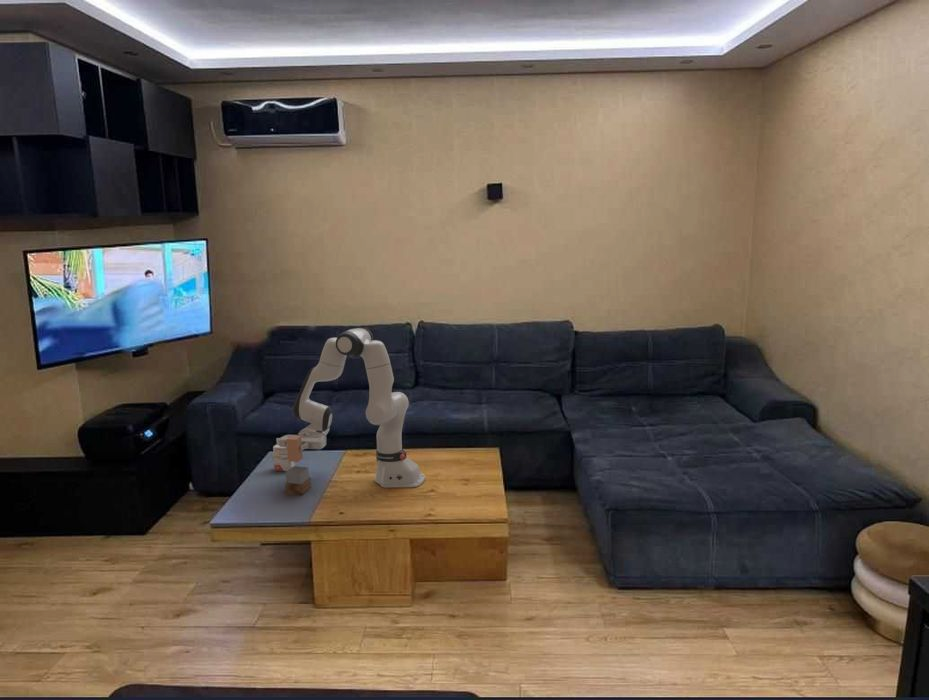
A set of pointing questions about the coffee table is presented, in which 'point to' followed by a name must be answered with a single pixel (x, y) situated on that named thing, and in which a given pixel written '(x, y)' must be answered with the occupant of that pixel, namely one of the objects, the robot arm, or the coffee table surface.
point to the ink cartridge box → (281, 458)
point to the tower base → (298, 487)
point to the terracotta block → (294, 448)
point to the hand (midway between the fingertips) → (293, 448)
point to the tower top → (297, 475)
